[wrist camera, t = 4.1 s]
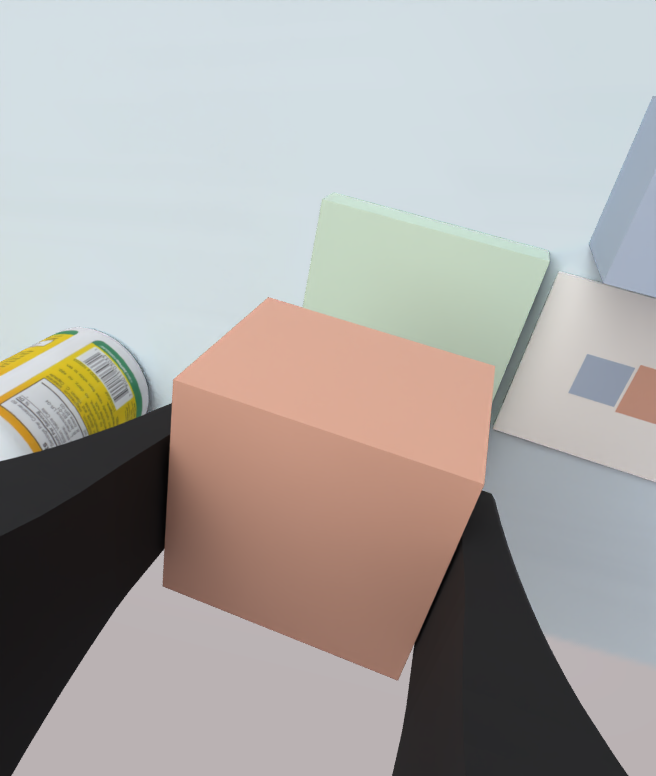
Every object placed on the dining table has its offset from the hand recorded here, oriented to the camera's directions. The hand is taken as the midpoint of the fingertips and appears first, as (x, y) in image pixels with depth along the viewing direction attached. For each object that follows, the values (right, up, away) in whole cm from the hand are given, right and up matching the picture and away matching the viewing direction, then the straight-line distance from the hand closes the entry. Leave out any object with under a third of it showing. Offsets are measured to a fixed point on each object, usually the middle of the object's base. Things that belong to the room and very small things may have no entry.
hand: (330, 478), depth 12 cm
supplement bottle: (-10, +2, +14) cm, 17 cm away
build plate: (+3, +4, +8) cm, 9 cm away
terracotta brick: (+1, +1, +1) cm, 2 cm away
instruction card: (+9, +2, +7) cm, 12 cm away
